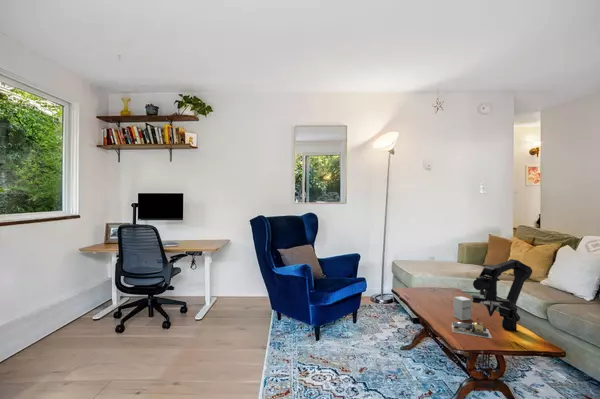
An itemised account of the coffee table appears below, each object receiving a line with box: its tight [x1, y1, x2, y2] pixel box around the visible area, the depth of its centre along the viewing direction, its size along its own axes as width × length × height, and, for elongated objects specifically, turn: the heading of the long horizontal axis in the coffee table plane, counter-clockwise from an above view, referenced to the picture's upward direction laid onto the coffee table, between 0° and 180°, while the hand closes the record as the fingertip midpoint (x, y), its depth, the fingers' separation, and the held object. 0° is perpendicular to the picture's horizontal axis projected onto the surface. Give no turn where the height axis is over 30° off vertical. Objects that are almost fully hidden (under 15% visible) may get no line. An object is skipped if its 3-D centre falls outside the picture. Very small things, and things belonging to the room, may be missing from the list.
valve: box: [472, 320, 484, 332], centre depth 172 cm, size 5×5×6 cm
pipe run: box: [451, 320, 493, 339], centre depth 173 cm, size 19×12×4 cm, turn 67°
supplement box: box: [452, 296, 472, 321], centre depth 193 cm, size 7×7×13 cm
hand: (490, 316), depth 172 cm, fingers closed
